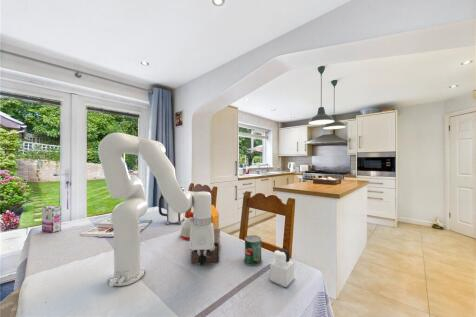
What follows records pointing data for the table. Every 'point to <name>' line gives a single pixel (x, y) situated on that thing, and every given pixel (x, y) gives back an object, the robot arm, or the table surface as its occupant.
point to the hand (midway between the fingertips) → (202, 263)
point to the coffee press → (171, 213)
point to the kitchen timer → (187, 228)
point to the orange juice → (214, 217)
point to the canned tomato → (253, 250)
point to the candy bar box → (51, 218)
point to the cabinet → (217, 241)
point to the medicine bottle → (282, 268)
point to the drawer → (210, 257)
